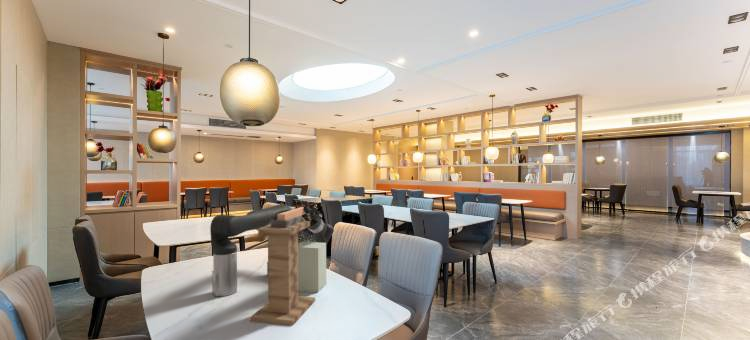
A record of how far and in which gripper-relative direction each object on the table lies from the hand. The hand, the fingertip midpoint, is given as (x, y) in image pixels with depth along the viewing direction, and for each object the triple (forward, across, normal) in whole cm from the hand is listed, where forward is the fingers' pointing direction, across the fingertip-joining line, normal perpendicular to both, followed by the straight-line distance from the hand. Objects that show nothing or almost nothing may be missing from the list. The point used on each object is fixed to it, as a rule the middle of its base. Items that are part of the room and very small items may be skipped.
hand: (300, 207), depth 133 cm
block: (+4, 0, -6) cm, 7 cm away
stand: (-6, 0, -39) cm, 39 cm away
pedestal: (-27, 0, -27) cm, 38 cm away
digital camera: (-38, +22, -21) cm, 48 cm away
